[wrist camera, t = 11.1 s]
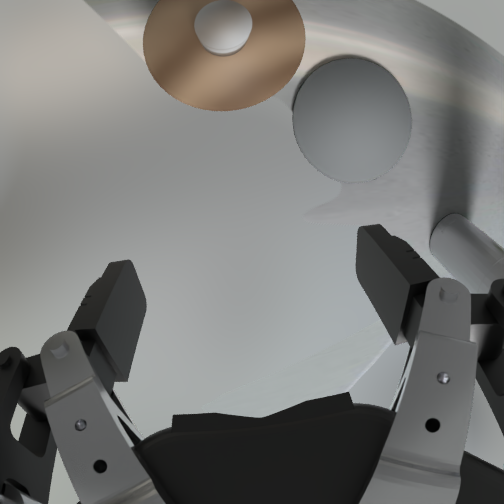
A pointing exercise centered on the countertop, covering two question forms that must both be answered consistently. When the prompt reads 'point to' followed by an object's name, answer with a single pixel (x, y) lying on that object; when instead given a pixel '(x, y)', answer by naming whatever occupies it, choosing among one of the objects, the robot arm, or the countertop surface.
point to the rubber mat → (352, 120)
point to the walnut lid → (223, 50)
